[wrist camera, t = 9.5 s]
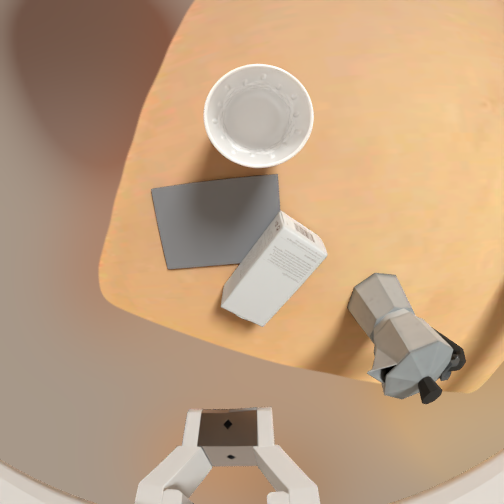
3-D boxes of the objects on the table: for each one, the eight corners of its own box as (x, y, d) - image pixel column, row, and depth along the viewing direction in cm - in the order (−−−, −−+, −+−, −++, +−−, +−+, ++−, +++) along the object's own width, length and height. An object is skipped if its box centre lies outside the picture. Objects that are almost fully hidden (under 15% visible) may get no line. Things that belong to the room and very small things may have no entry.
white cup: (277, 165, 30) (290, 183, 21) (207, 141, 29) (189, 148, 20) (304, 99, 27) (328, 88, 18) (233, 74, 26) (225, 50, 17)
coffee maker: (326, 322, 39) (361, 431, 22) (343, 267, 35) (402, 372, 19) (411, 324, 40) (463, 410, 23) (432, 276, 36) (503, 356, 20)
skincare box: (280, 208, 31) (221, 283, 36) (284, 225, 27) (217, 306, 32) (322, 237, 33) (261, 305, 38) (331, 257, 29) (261, 329, 34)
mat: (277, 174, 30) (277, 174, 30) (282, 258, 34) (283, 259, 34) (152, 188, 31) (151, 189, 30) (168, 267, 35) (167, 269, 35)
